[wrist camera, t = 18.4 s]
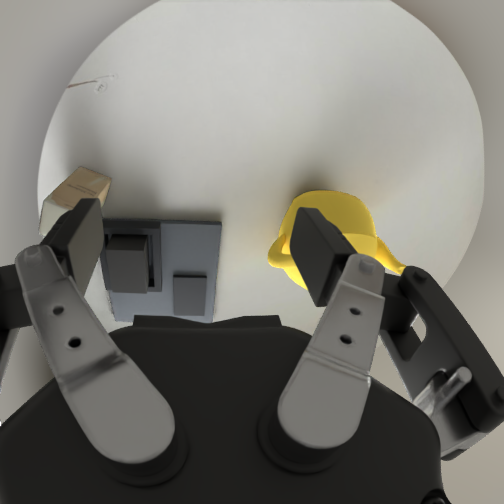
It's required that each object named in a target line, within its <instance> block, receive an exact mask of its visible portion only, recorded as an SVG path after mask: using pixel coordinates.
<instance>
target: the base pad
mask: <svg viewBox="0 0 504 504" xmlns="http://www.w3.org/2000/svg"><path fill="white" fill-rule="evenodd" d="M102 222H103V231H104V243H103V248H102V251H101V253H100V259H101V265H102V271H103V277H104V283H105V288H106V290H109V294H110V299H111V304H112V309H113V313H114V318H115V321H121V322H133V320H134V315H157V316H173V317H178V318H182V319H187V320H192V321H197V322H202V323H212V322H213V310H214V299H215V288H216V278H217V267H218V257H219V248H220V238H221V229H222V223H221V222H210V221H182V220H146V219H102ZM112 234H137V235H148V248H149V266H150V277H149V283H148V290H147V294H138V293H113V292H112V287H111V281H110V275H109V269H108V263H107V256H106V248H107V245H108V243H109V240H110V238H111V236H112Z"/></svg>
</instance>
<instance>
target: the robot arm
mask: <svg viewBox="0 0 504 504" xmlns="http://www.w3.org/2000/svg"><path fill="white" fill-rule="evenodd" d="M103 243H104V231H103V222H102V211H101V202H100V199H99V198H81V199H80V200H79V202H78V203H77V204H76V206H75V207H74V208H73V210H68V211H67V212H65V213H64V214H62V215H61V216H60V217H59V218H58V220H57V221H56V222H55V224H54V225H53V226H52V228H51V230H49V232H48V233H47V235H46V236H45V238H44V239H43V241H42V242H41V243H40V244H39V245H33V246H30V247H28V248H26V249H24V250H23V251H21V252H20V253H19V254H18V255H17V257H16V258H15V264H12V265H8V266H2V267H0V392H1V388H2V384H3V380H4V376H5V373H6V369H7V366H8V363H9V359H10V356H11V353H12V350H13V347H14V344H15V341H16V338H17V335H18V332H19V329H20V328H21V327H26V326H32V325H33V327H34V329H35V332H36V335H37V337H38V340H39V342H40V345H41V347H42V349H43V352H44V354H45V356H46V359H47V361H48V363H49V365H50V367H51V370H52V372H53V374H54V376H55V377H54V378H53V379H52V380H50V381H49V382H48V383H47V384H46V385H45V386H44V387H42V388H41V389H40V390H39V391H38V392H37V393H36V394H35V395H33V396H32V397H31V398H30V399H29V400H28V401H27V402H26V403H24V404H23V405H22V406H21V407H20V408H19V409H18V410H17V411H16V412H15V413H13V414H12V415H11V416H10V417H9V418H8V419H7V420H6V421H5V422H4V423H3V424H2V425H1V421H0V504H451V503H450V501H449V500H448V498H447V497H446V495H445V492H444V489H443V483H442V477H441V460H444V461H449V460H452V459H454V458H456V457H457V456H458V455H460V454H461V453H463V452H464V451H466V450H467V449H469V448H470V447H471V446H473V445H474V444H475V443H477V442H478V441H480V440H481V439H482V438H484V437H485V436H486V435H487V434H489V433H490V432H491V431H492V430H494V429H495V428H496V427H497V426H499V425H500V424H501V423H502V422H503V421H504V377H503V375H502V374H501V372H500V370H499V369H498V367H497V366H496V364H495V362H494V361H493V359H492V358H491V356H490V355H489V353H488V352H487V350H486V349H485V347H484V346H483V344H482V343H481V341H480V340H479V338H478V337H477V335H476V334H475V333H474V331H473V330H472V328H471V327H470V325H469V324H468V323H467V321H466V320H465V319H464V317H463V316H462V315H461V313H460V312H459V310H458V309H457V308H456V307H455V305H454V304H453V302H452V301H451V300H450V299H449V297H448V296H447V295H446V293H445V292H444V291H443V290H442V288H441V287H440V286H439V285H438V283H437V282H436V281H435V280H434V279H433V277H432V276H431V275H430V274H429V273H427V272H426V271H424V270H423V269H421V268H418V267H415V266H406V267H405V268H404V270H403V272H402V274H401V276H396V275H392V274H387V273H385V268H384V266H383V265H382V264H381V263H380V262H379V261H378V260H376V259H375V258H373V257H371V256H368V255H365V254H360V253H358V252H357V251H356V250H355V248H354V247H353V246H352V245H351V243H350V242H349V241H348V240H347V238H346V237H345V236H344V235H342V232H341V231H340V230H339V228H338V227H337V226H335V225H334V224H333V223H331V222H330V221H328V220H326V218H325V217H324V216H323V215H322V213H321V212H320V211H319V210H318V209H317V208H308V207H299V208H298V210H297V213H296V217H295V221H294V225H293V229H292V234H291V238H290V244H289V248H290V254H291V256H292V258H293V260H294V262H295V264H296V266H297V268H298V270H299V272H300V274H301V277H302V279H303V281H304V283H305V285H306V287H307V289H308V291H309V293H310V295H311V297H312V299H313V302H314V304H315V306H316V307H325V306H327V307H326V309H325V311H324V313H323V315H322V317H321V320H320V322H319V324H318V326H317V328H316V330H315V332H314V334H313V336H311V335H309V334H308V333H305V332H303V331H301V330H298V329H295V328H291V327H287V326H282V324H281V321H280V318H279V315H268V316H242V317H238V318H233V319H228V320H223V321H219V322H214V323H202V322H197V321H192V320H187V319H182V318H178V317H173V316H157V315H134V320H133V326H127V327H123V328H120V329H117V330H114V331H112V332H110V333H107V331H106V330H105V329H104V327H103V326H102V324H101V323H100V321H99V320H98V318H97V317H96V315H95V314H94V312H93V311H92V309H91V307H90V306H89V304H88V303H87V301H86V300H85V298H84V295H85V292H86V289H87V287H88V284H89V281H90V279H91V276H92V273H93V271H94V268H95V266H96V263H97V261H98V258H99V256H100V253H101V251H102V248H103ZM418 315H419V316H420V317H421V319H422V320H423V322H424V324H425V325H426V336H425V339H424V340H423V341H422V342H421V341H420V339H419V337H418V336H417V334H416V332H415V331H414V329H413V327H412V325H413V323H414V322H415V320H416V318H417V317H418ZM378 334H379V336H380V338H381V340H382V342H383V344H384V346H385V348H386V350H387V351H388V354H389V356H390V358H391V360H392V362H393V364H394V366H395V368H396V370H397V372H398V374H399V376H400V378H401V380H402V382H403V384H404V387H405V389H406V391H407V393H408V395H409V397H410V400H411V402H412V403H410V402H409V401H407V400H406V399H404V398H403V397H401V396H400V395H398V394H397V393H395V392H394V391H392V390H390V389H389V388H388V387H386V386H385V385H383V384H382V383H380V382H379V381H377V380H376V379H374V378H373V377H371V376H370V375H369V372H370V368H371V364H372V360H373V356H374V352H375V348H376V343H377V338H378Z"/></svg>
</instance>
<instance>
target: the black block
mask: <svg viewBox="0 0 504 504" xmlns="http://www.w3.org/2000/svg"><path fill="white" fill-rule="evenodd" d="M106 256H107V263H108V269H109V275H110V281H111V287H112V292H113V293H138V294H147V290H148V283H149V277H150V266H149V248H148V235H137V234H112V236H111V238H110V240H109V243H108V245H107V248H106Z"/></svg>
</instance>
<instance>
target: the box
mask: <svg viewBox="0 0 504 504" xmlns="http://www.w3.org/2000/svg"><path fill="white" fill-rule="evenodd" d="M110 183H111V178H109V177H107V176H104V175H102V174H99V173H96V172H94V171H91V170H89V169H86V168H83V167H79V168H78V169H77V170H75V171H74V172H73V173H72V174H71V175H70V176H69V177H68V178H67V179H66V180H64V181H63V182H62V183H61V184H60V185H59V186H58V187H57V188H56V189H55V190H54V191H53V192H52V193H51V194H50V195H49V196H48V197H47V198H46V199H45V200H44V201H43V206H42V211H41V216H40V223H39V230H38V233H39V234H40V235H42V236H44V237H45V236H46V235H47V233H48V232H49V230H51V228H52V226H53V225H54V224H55V222H56V221H57V220H58V218H59V217H60V216H61V215H62V214H64V213H65V212H67V211H68V210H73V208H74V207H75V206H76V204H77V203H78V202H79V200H80V199H81V198H99V199H100V202H101V208H102V207H103V205H104V202H105V199H106V196H107V193H108V190H109V187H110Z"/></svg>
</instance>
